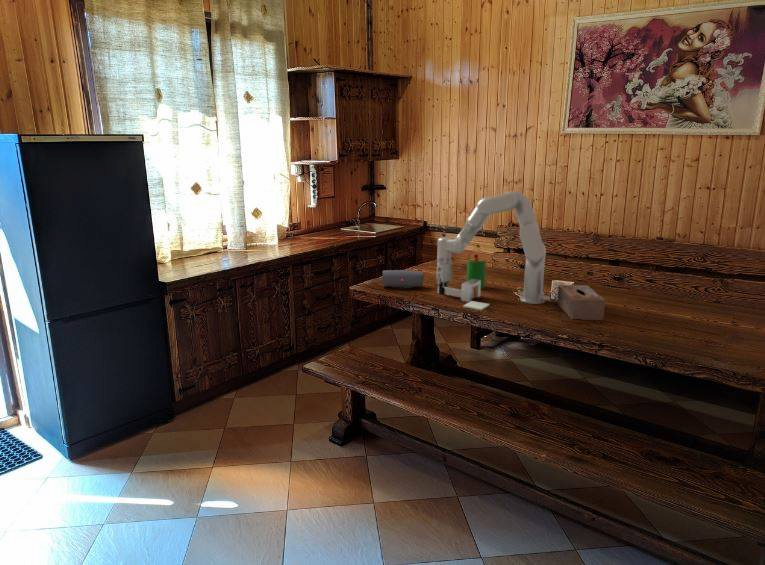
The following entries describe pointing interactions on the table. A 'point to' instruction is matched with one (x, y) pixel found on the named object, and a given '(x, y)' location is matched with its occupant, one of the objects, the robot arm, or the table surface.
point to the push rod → (452, 291)
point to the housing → (470, 289)
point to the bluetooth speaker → (402, 278)
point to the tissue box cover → (581, 302)
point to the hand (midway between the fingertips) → (443, 293)
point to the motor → (476, 270)
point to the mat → (476, 305)
